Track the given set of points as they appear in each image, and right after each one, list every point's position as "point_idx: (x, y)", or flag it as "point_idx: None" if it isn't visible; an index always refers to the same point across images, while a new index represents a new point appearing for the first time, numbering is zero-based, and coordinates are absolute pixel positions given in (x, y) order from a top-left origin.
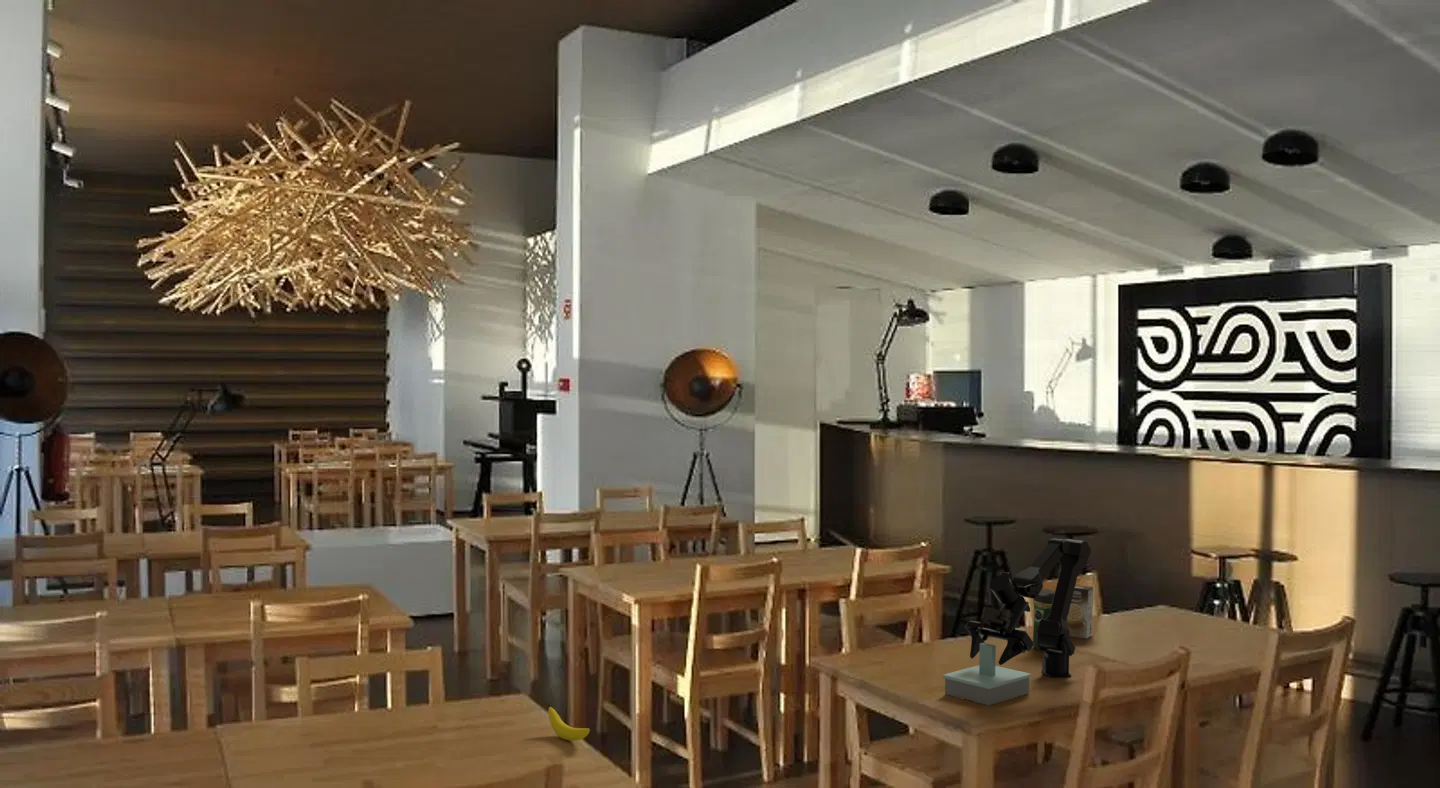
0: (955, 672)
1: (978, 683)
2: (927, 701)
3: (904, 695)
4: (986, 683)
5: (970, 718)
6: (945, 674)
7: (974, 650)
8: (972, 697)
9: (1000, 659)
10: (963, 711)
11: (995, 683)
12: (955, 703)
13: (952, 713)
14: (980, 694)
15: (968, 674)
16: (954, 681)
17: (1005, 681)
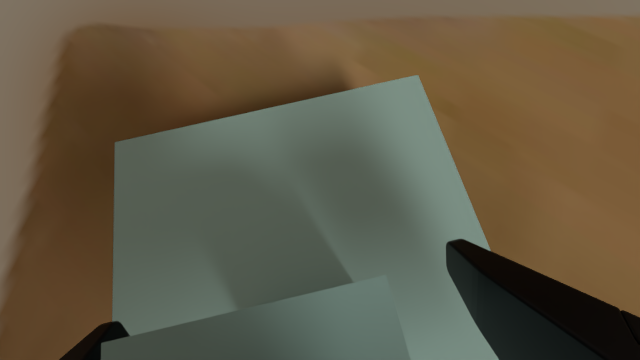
0: (435, 161)
1: (183, 127)
2: (341, 38)
3: (440, 16)
4: (155, 162)
5: (119, 44)
6: (416, 89)
7: (502, 308)
8: None
9: (79, 350)
10: (185, 68)
11: (121, 205)
12: (273, 100)
13: (190, 30)
14: None
15: (362, 200)
16: None
17: (113, 298)
